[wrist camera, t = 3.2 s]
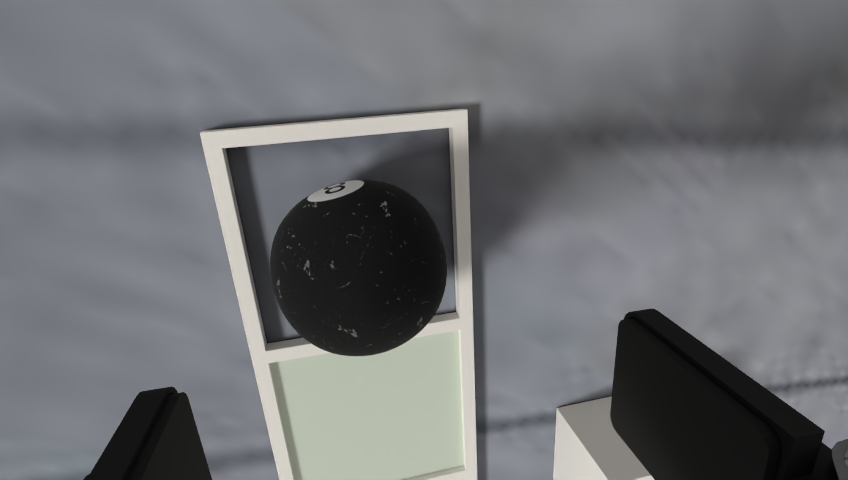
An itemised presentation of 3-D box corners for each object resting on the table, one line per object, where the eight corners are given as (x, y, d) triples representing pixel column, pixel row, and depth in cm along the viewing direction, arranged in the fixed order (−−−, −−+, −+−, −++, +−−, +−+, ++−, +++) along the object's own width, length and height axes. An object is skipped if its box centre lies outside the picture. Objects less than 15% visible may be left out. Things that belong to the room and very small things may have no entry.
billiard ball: (307, 321, 20) (303, 417, 14) (255, 191, 18) (227, 246, 12) (439, 278, 21) (484, 354, 15) (405, 147, 18) (444, 180, 13)
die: (556, 407, 25) (614, 488, 20) (640, 390, 26) (713, 462, 21) (553, 478, 26) (604, 567, 22) (631, 459, 27) (697, 540, 23)
